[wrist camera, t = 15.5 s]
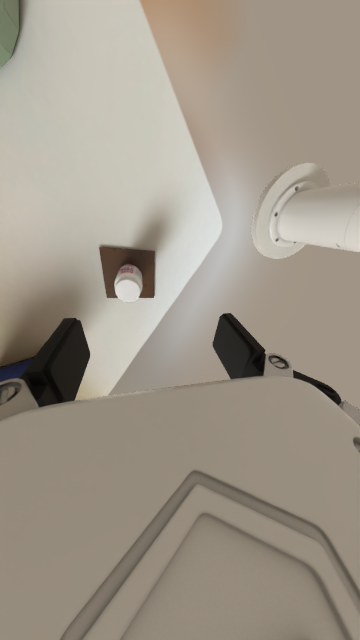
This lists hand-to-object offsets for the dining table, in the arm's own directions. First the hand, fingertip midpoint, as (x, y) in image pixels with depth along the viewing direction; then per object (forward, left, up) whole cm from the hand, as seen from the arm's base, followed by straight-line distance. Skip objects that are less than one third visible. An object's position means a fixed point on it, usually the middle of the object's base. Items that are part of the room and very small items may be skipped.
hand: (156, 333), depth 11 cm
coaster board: (+3, +4, -25) cm, 26 cm away
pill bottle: (+3, +4, -25) cm, 26 cm away
